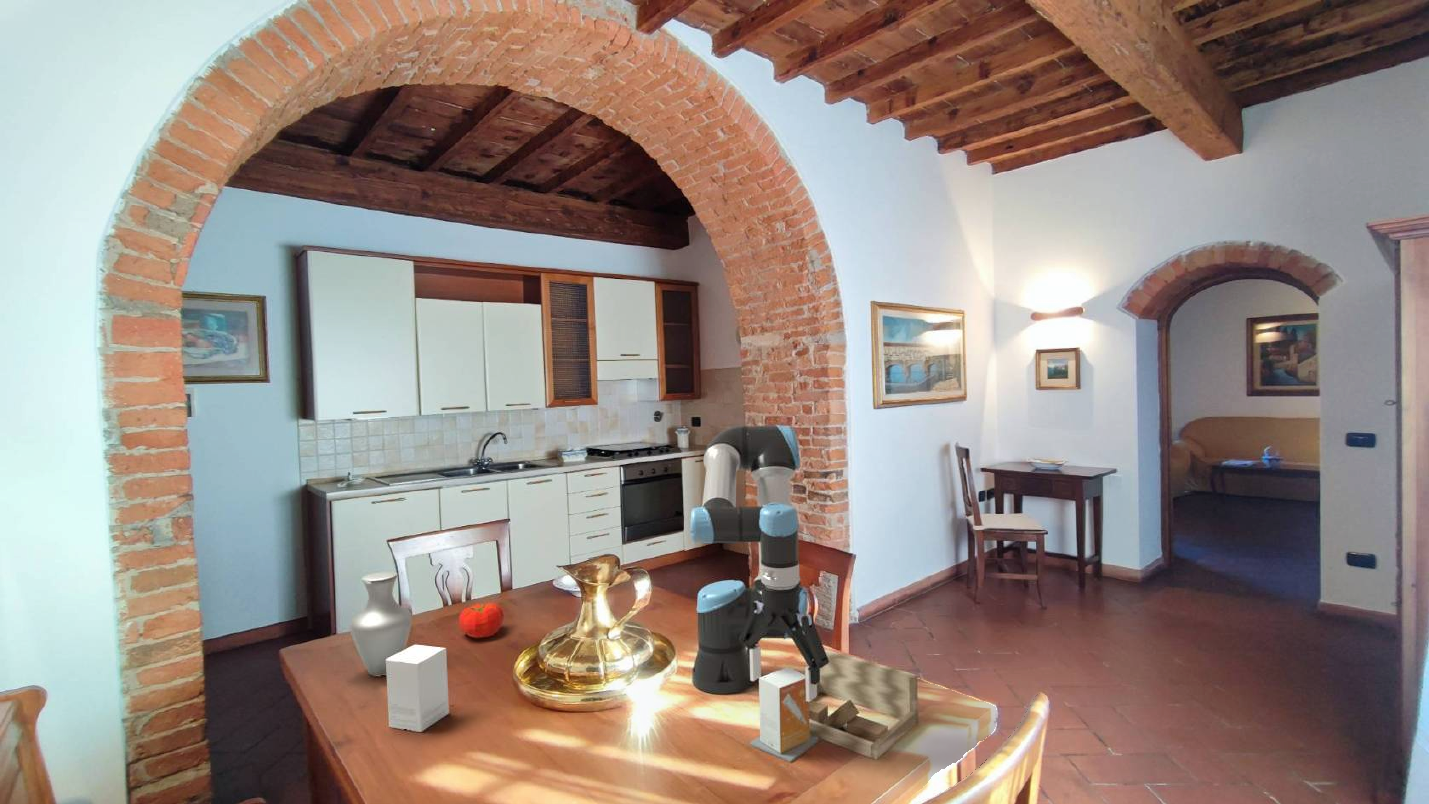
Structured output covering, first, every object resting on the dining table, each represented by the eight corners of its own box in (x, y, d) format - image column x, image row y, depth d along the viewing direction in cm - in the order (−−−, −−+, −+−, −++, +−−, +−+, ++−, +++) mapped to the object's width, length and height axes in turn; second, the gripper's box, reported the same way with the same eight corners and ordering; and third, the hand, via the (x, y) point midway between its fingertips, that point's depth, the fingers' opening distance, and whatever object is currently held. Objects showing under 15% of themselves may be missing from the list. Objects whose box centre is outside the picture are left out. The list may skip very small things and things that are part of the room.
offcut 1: (789, 720, 143) (789, 703, 143) (799, 712, 146) (799, 696, 146) (818, 729, 139) (818, 713, 139) (828, 721, 142) (827, 705, 142)
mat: (749, 745, 133) (749, 743, 133) (778, 724, 141) (778, 723, 141) (790, 762, 127) (790, 760, 127) (819, 740, 134) (819, 738, 134)
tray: (772, 719, 143) (771, 673, 143) (818, 689, 157) (817, 646, 156) (876, 759, 127) (875, 707, 127) (918, 721, 141) (917, 674, 140)
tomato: (472, 626, 205) (471, 597, 205) (511, 627, 203) (510, 598, 203) (448, 643, 191) (447, 613, 191) (490, 645, 190) (488, 614, 189)
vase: (339, 679, 170) (334, 581, 169) (386, 657, 183) (382, 566, 182) (381, 687, 164) (376, 586, 163) (426, 664, 177) (422, 570, 177)
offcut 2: (831, 734, 136) (822, 721, 138) (842, 726, 139) (832, 713, 141) (849, 720, 134) (840, 706, 135) (859, 712, 137) (850, 699, 138)
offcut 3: (846, 740, 135) (846, 723, 135) (856, 732, 138) (856, 715, 138) (878, 752, 130) (878, 734, 130) (888, 743, 133) (887, 726, 133)
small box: (780, 755, 129) (779, 688, 128) (759, 741, 134) (757, 677, 134) (811, 740, 134) (809, 676, 133) (789, 728, 139) (787, 666, 138)
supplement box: (450, 713, 150) (448, 647, 150) (421, 733, 141) (418, 663, 141) (418, 708, 153) (415, 643, 152) (387, 727, 144) (384, 658, 144)
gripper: (720, 577, 138) (723, 677, 140) (824, 602, 122) (826, 716, 123) (743, 568, 144) (745, 664, 145) (845, 591, 128) (847, 700, 129)
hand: (782, 688), depth 134 cm, fingers open, 13 cm apart
